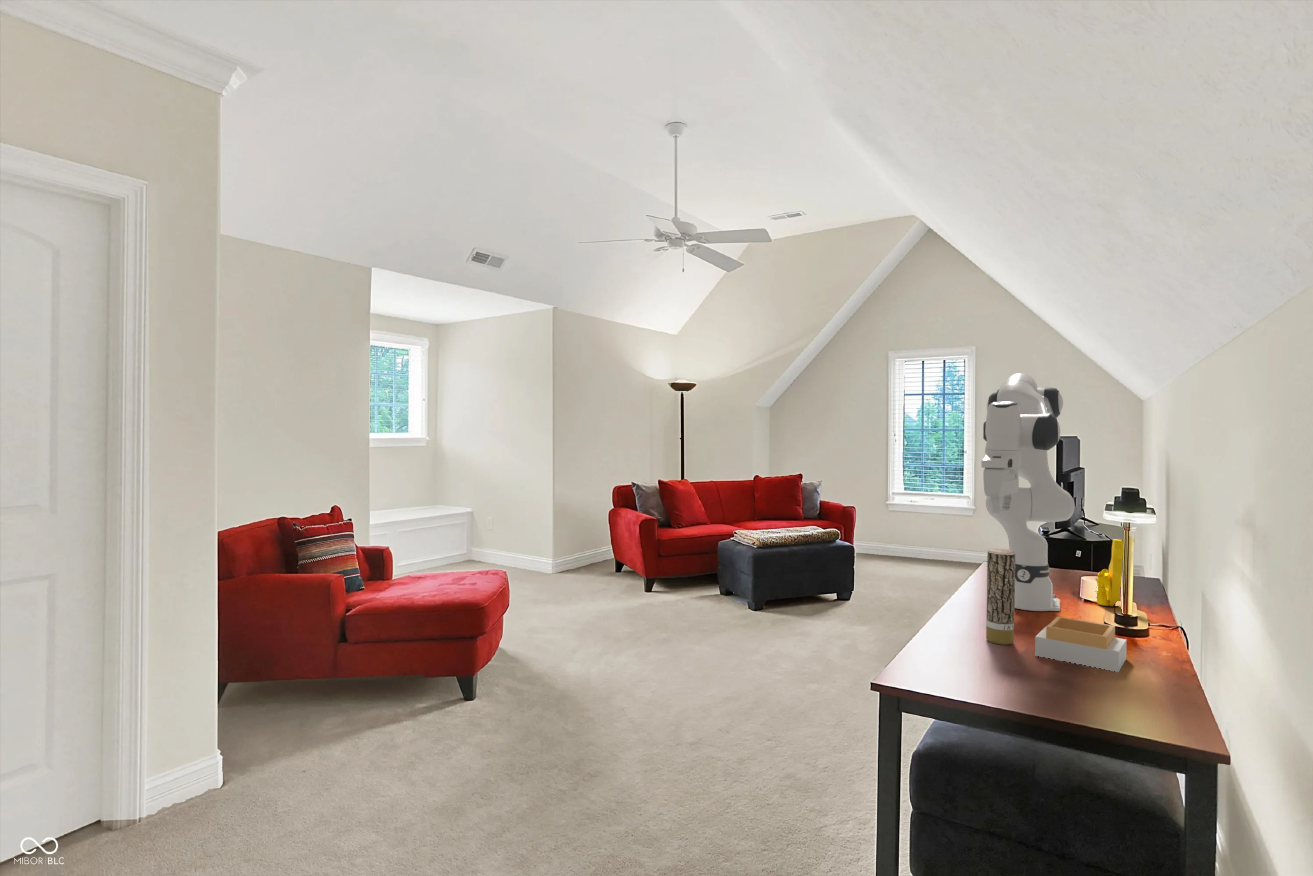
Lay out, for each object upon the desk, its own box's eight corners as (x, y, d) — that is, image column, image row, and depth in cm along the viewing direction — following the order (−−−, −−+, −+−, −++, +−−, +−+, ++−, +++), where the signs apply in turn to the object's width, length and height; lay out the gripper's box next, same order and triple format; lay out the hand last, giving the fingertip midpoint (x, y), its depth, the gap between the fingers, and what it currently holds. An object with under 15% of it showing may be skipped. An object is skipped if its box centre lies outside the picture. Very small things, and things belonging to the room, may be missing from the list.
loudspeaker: (1046, 644, 188) (1046, 614, 188) (1126, 659, 176) (1126, 627, 176) (1034, 655, 178) (1035, 624, 178) (1118, 672, 166) (1119, 639, 166)
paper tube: (982, 641, 189) (984, 550, 189) (990, 636, 194) (992, 547, 194) (1009, 647, 185) (1011, 553, 184) (1017, 641, 190) (1018, 550, 189)
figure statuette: (1089, 598, 240) (1091, 534, 240) (1116, 600, 237) (1117, 536, 237) (1101, 610, 224) (1102, 542, 223) (1129, 613, 221) (1131, 544, 220)
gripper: (1000, 459, 199) (1000, 507, 199) (979, 461, 183) (978, 513, 183) (1025, 460, 195) (1024, 509, 195) (1005, 462, 179) (1004, 515, 179)
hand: (1001, 511), depth 189 cm, fingers open, 8 cm apart
